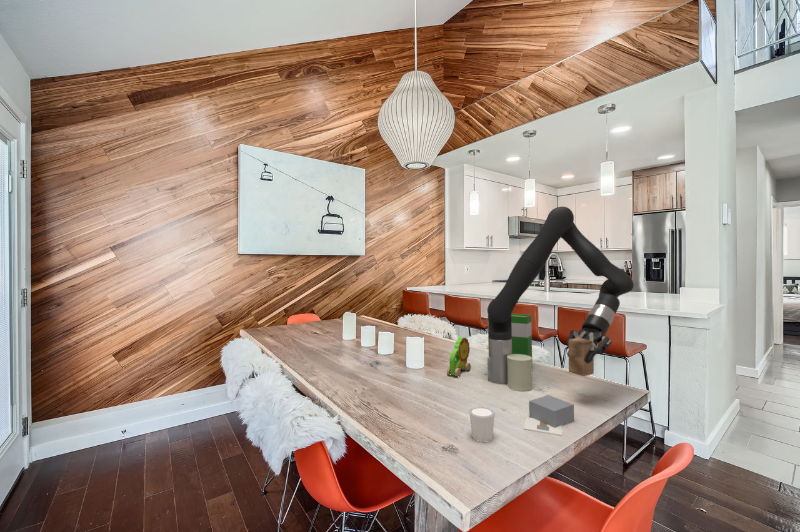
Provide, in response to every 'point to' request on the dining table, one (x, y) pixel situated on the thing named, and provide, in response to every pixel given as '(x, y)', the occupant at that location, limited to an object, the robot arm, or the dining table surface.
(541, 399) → the base block
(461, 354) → the toy lion
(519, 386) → the can
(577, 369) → the walnut brick
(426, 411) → the dining table surface
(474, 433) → the shot glass
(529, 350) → the green banded block
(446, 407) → the dining table surface
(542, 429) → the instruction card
